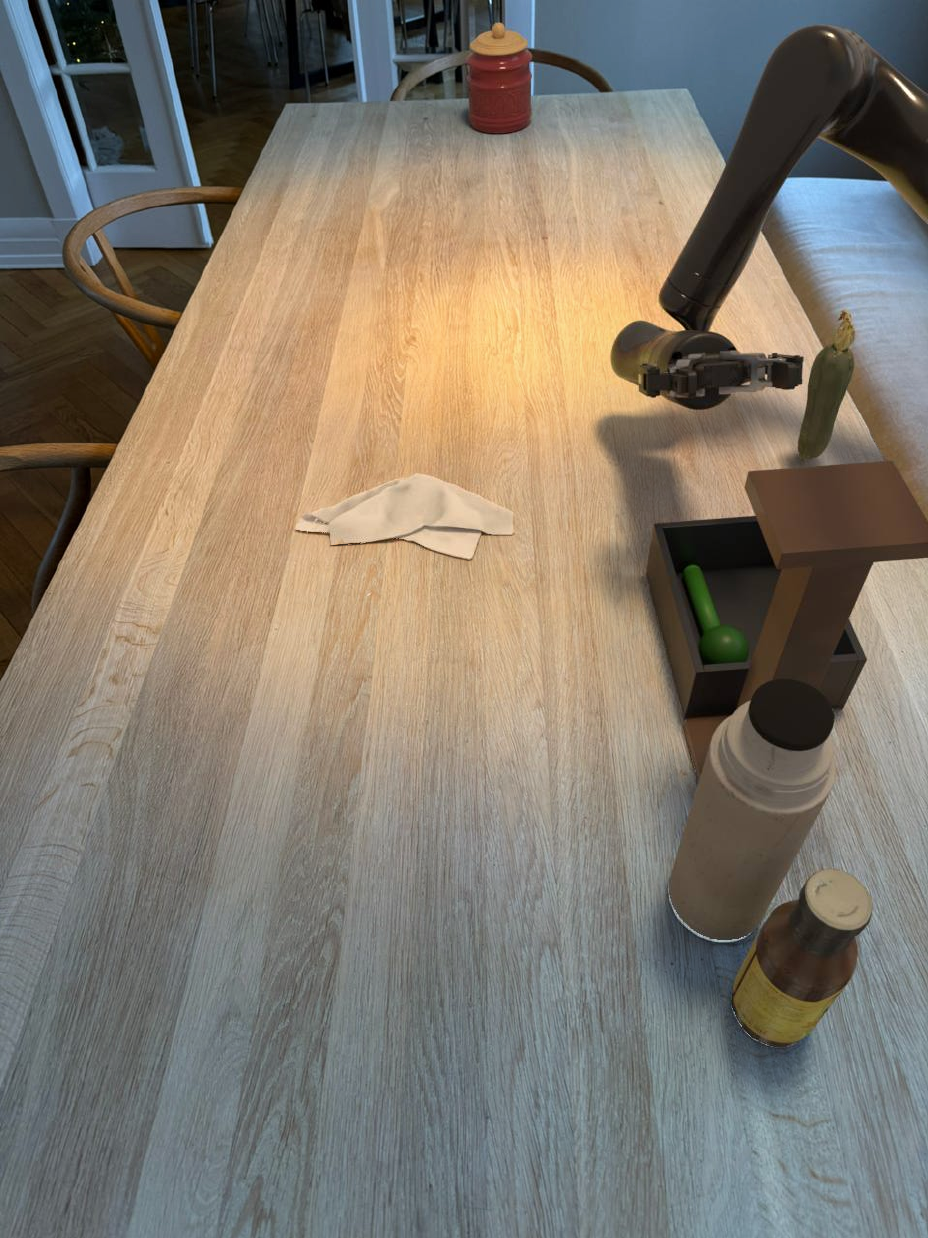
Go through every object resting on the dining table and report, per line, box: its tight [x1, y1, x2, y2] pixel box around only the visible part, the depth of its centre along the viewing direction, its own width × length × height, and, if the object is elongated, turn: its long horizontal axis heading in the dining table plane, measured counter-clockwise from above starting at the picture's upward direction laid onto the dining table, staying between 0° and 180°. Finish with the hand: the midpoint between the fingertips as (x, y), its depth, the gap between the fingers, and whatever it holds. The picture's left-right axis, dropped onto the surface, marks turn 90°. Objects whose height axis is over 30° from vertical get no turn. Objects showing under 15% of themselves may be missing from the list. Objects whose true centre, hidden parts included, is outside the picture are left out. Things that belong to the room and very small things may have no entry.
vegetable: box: [797, 309, 856, 461], centre depth 101 cm, size 4×4×20 cm
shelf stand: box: [683, 460, 928, 783], centre depth 70 cm, size 10×8×32 cm
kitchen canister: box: [465, 22, 533, 134], centre depth 175 cm, size 13×13×18 cm
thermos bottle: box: [668, 679, 837, 940], centre depth 63 cm, size 8×8×28 cm
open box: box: [645, 515, 868, 721], centre depth 89 cm, size 16×20×8 cm
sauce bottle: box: [730, 868, 874, 1048], centre depth 61 cm, size 6×6×20 cm
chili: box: [683, 565, 749, 665], centre depth 90 cm, size 5×17×5 cm, turn 5°
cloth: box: [294, 472, 515, 561], centre depth 106 cm, size 26×14×2 cm, turn 77°
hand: (742, 380), depth 75 cm, fingers open, 8 cm apart
